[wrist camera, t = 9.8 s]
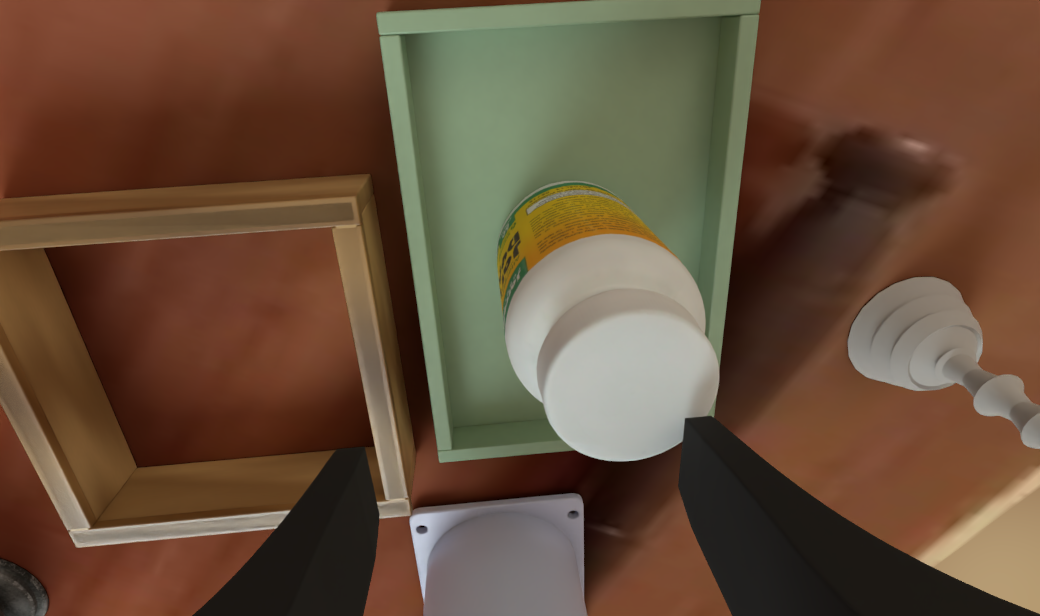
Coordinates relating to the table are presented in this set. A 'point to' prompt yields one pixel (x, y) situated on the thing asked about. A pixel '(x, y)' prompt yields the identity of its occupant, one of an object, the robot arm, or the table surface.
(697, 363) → the supplement bottle
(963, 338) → the chalice
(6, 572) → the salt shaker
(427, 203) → the tray
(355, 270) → the brown wooden square frame
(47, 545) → the table surface
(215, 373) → the table surface
